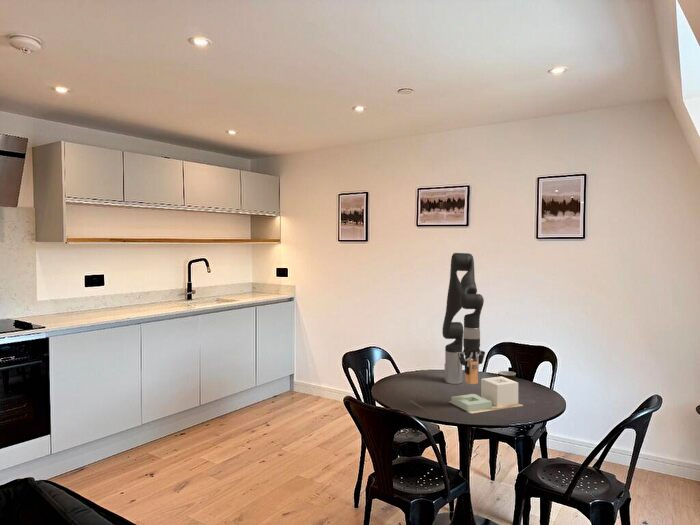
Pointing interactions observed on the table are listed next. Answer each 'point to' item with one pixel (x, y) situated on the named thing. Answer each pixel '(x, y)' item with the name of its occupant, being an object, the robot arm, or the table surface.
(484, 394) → the white socket block
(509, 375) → the coffee mug
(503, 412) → the table surface
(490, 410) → the jack board
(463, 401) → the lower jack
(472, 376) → the plug
